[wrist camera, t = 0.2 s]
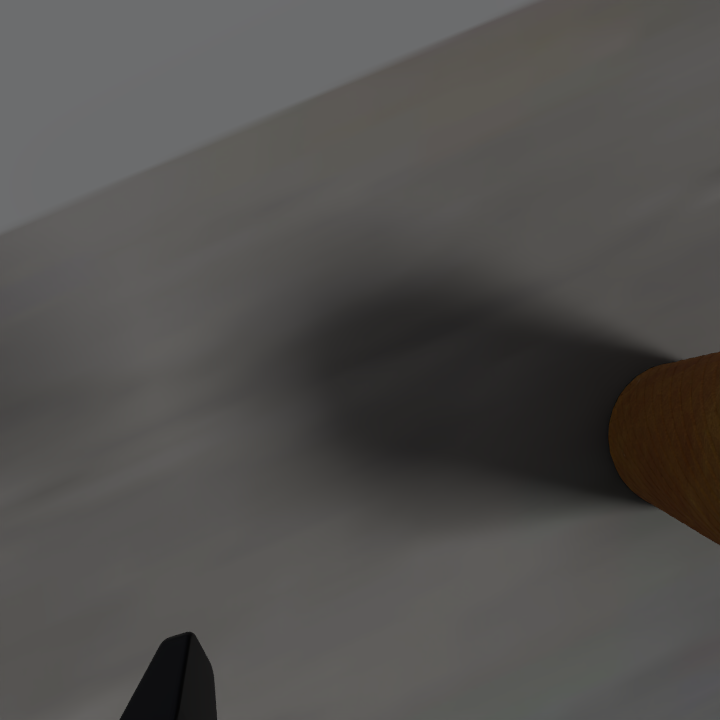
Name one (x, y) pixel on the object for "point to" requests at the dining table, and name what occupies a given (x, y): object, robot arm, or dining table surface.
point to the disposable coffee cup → (673, 440)
